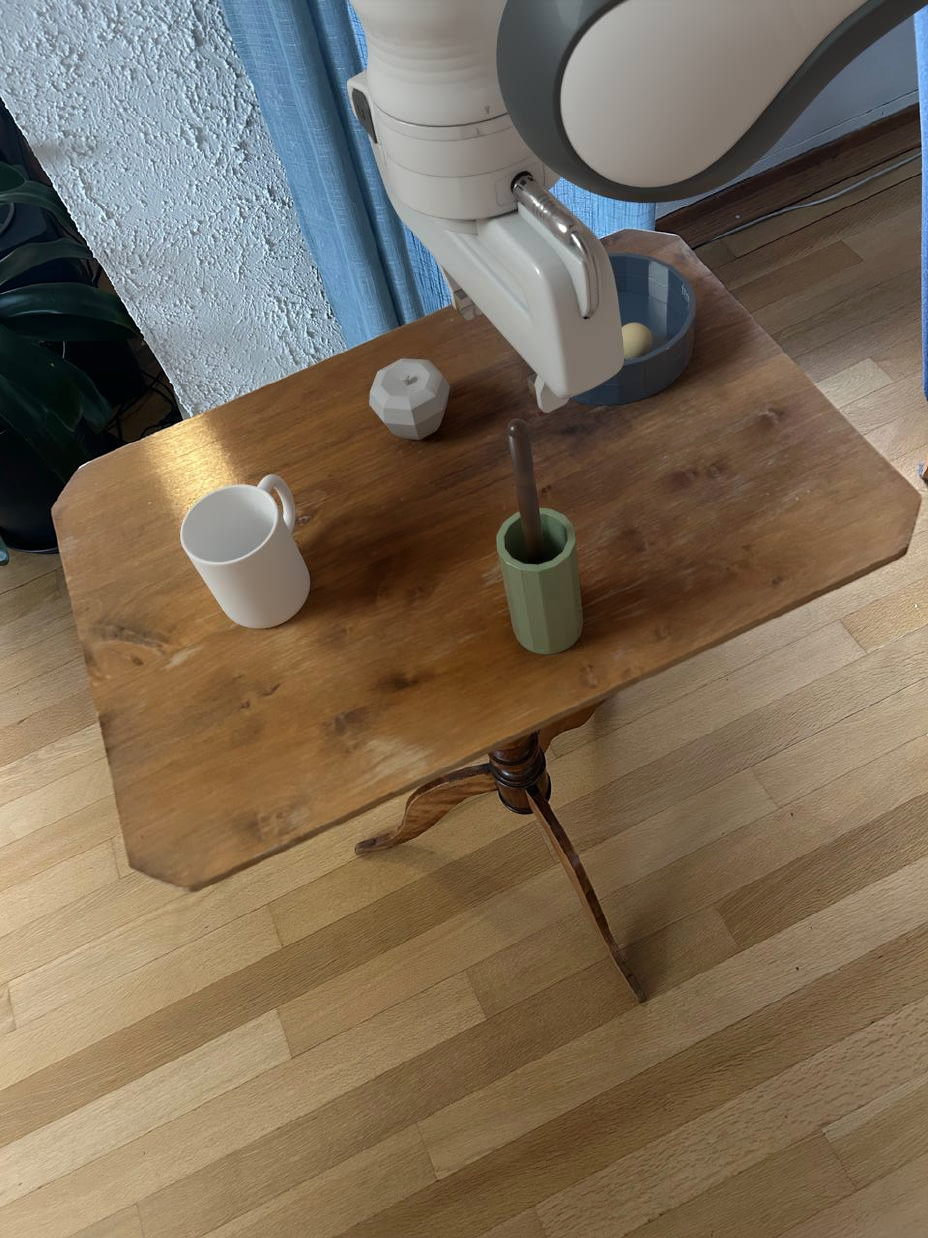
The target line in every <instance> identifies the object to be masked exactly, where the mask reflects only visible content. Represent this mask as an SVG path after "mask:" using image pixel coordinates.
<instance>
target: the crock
mask: <svg viewBox="0 0 928 1238" xmlns="http://www.w3.org/2000/svg"><path fill="white" fill-rule="evenodd" d="M539 510H540V518H541V525H542V533H543V540H544V547H545V555H546V562H545V563H542V564H539V565H535V564H528V560H527V554H526V548H525V542H524V535H523V529H522V523H521V517H520V511H517V512H515V513H514V514H512V515H511V516H510V517H508V518H507V519H506V520H505V521H503V523H502V524H501V526H500V528H499V529H498V532H497V534H496V537H495V538H496V539H495V540H496V551H497V557H498V561H499V566H500V570H501V571H500V572H501V576H502V581H503V586H504V591H505V597H506V600H507V601H506V602H507V606H508V610H509V616H510V622H511V626H512V631H513V633H514V636H515V638H516V640H517V641H518V643H519V644H520V645H521V646H522V647H523V648H525V649H526V650H528V651H529V652H532V653H535V654H537V655H538V654H539V655H555V654H559V653H562V652H564V651H567V650H568V649H570V648H571V647H572V646H573V645H574V644H576V642H577V641H578V640H579V639H580V636H581V634H582V633H583V628H584V615H583V605H582V604H583V603H582V597H581V596H582V594H581V592H582V591H581V583H580V581H581V580H580V571H579V561H578V549H577V539H576V529H575V526H574V525H573V523H572V522H571V521H570V520H569V518H568V517H567V516H566V515H565V514H563V513H561V512H559V511H557V510H555V509H552V508H549V507H539Z"/></svg>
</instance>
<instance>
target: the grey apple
mask: <svg viewBox="0 0 928 1238" xmlns="http://www.w3.org/2000/svg"><path fill="white" fill-rule="evenodd" d="M450 389H451V385H450V384H449V382H448V381H447V379H446V378H445V376H444V375H443V373H442V372H440V370H439V368H437V367H436V366H435V365H434V364H433V363H432V362H431V361H430V360H429V359H423V358H421V359H420V358H419V359H418V358H405V357H403V358H400V359H398V360H396V361H395V362H392V363H391V364H389V365H386V366H384V367H383V368H381V369H378V370H377V372H376V374H375V378H374V379H373V383H372V385H371V388H370V391H369V401H368V403H369V404H368V405H369V407H370V408H371V409H372V410H373V411H374V412H375V414H376V415H377V416H378V417H379V418H380V420H381V421H382V422H383V424H384V425H385V426H386V427H387V429H388V430H389V431H390V433H391V434H392V435H393V436H394V437H395V436H396V437H397V438H399V439H402V440H412V441H413V440H414V441H421V440H423V439H425V438H427V437H428V436H430V435H431V434H433V433H435V432H437V431H438V429H439V428H440V426H441V424H442V421H443V418H444V415H445V412H446V408H447V406H448V401H449V395H450Z"/></svg>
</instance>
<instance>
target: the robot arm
mask: <svg viewBox="0 0 928 1238" xmlns="http://www.w3.org/2000/svg"><path fill="white" fill-rule="evenodd" d="M348 1H349V4H350V5H351V7H352V9H353V10H354V12H355V14H356V16H357V18H358V20H359V21H360V24H361V27H362V30H363V32H364V37H365V40H366V50H367V63H366V69H365V70H363V71H361V72H359V73H358V74H356V75H354V76H352V77H350V78H348V79H347V81H346V89H347V94H348V98H349V103H350V105H351V110H352V112H353V115H354V117H355V118H356V119H357V121H358V122H359V124H360V125H361V126H362V128H363V129H364V130H365V131H366V133H367V136H368V140H369V143H370V146H371V149H372V152H373V155H374V159H375V162H376V165H377V168H378V171H379V174H380V177H381V179H382V183H383V186H384V189H385V192H386V194H387V197H388V199H389V201H390V204H391V205H392V207H393V209H394V211H395V212H396V214H397V216H398V217H399V220H401V222H402V223H403V224H405V226H406V227H407V228H408V229H409V231H410V232H411V233H412V234H413V235H414V236H415V237H416V238H417V240H418V241H419V242H420V243H421V244H422V245H423V247H425V249H426V250H427V251H428V252H429V253H430V254H431V255H432V257H433V258H434V260H435V262H436V264H437V266H438V269H439V271H440V273H441V275H442V277H443V279H444V282H445V284H446V286H447V287H448V290H449V295H450V300H451V305H452V307H453V309H454V310H455V311H456V312H457V313H458V314H459V315H460V316H461V317H462V319H463V320H465V321H467V322H470V321H473V320H474V319H475V318H476V317H480V316H482V315H484V316H485V317H486V318H487V319H488V320H489V321H490V323H491V324H492V325H493V326H494V327H495V328H496V330H497V331H498V332H499V333H500V334H501V335H502V336H503V337H504V339H505V340H506V341H507V342H508V343H509V344H510V345H511V347H513V349H514V350H515V351H516V352H517V353H518V354H519V355H520V356H521V358H522V359H523V360H524V361H525V362H526V364H527V365H529V367H530V368H531V369H532V370H533V371H534V373H533V374H531V375H529V376H528V377H526V380H527V386H528V389H529V392H528V393H529V397H530V398H531V399H532V400H533V401H534V403H535V404H536V405H537V406H538V408H539V409H540V410H541V412H543V413H544V414H548V413H551V412H553V411H555V410H558V409H559V408H560V407H563V406H565V405H566V404H567V403H569V400H570V399H569V398H571V397H574V396H576V395H579V394H581V393H584V392H586V391H588V390H590V389H592V388H594V387H596V386H598V385H600V384H602V383H603V382H605V381H607V380H608V379H610V378H611V377H613V376H614V375H615V374H617V373H618V372H619V371H620V369H621V368H622V366H623V363H624V347H623V336H622V327H621V318H620V310H619V303H618V296H617V289H616V284H615V278H614V274H613V270H612V266H611V263H610V260H609V257H608V255H607V253H608V252H607V251H606V248H605V247H604V244H603V243H602V242H601V240H600V239H599V237H598V236H597V235H596V233H594V231H593V230H592V229H591V228H590V227H589V226H587V225H586V223H584V222H583V221H582V220H581V219H580V218H579V217H578V216H577V215H575V213H574V212H572V211H571V210H570V209H569V207H567V206H566V205H565V204H564V203H563V202H562V201H560V200H559V198H557V197H556V196H555V195H554V194H553V193H552V192H551V191H550V190H551V189H552V188H553V187H554V186H555V185H557V183H558V182H559V181H560V180H561V178H562V179H564V180H566V181H567V182H569V183H571V184H572V185H574V186H576V187H578V188H580V189H582V190H584V191H586V192H588V193H591V194H594V195H596V196H600V197H603V198H606V199H611V200H614V201H619V202H624V203H631V204H632V203H634V204H661V203H670V202H671V203H672V202H677V201H682V200H687V199H690V198H694V197H697V196H701V195H703V194H707V193H709V192H711V191H714V190H716V189H718V188H720V187H722V186H724V185H726V184H728V183H730V182H731V181H733V180H734V179H736V178H739V176H740V175H742V174H744V173H745V172H746V171H748V170H749V169H750V168H751V167H753V166H754V165H755V164H756V163H757V162H758V161H760V160H761V159H762V158H763V157H764V156H765V155H766V154H768V152H769V151H770V150H771V149H772V148H773V147H774V146H775V145H776V144H777V143H778V142H779V141H780V140H781V139H782V137H783V136H784V135H785V134H786V133H787V132H788V130H790V128H791V127H792V126H793V125H794V124H795V123H796V121H797V120H798V119H799V118H800V116H801V115H802V114H803V113H804V112H805V111H806V110H807V108H808V107H810V105H811V104H812V102H813V101H815V100H816V98H817V97H818V96H819V95H820V93H821V92H823V90H824V89H825V88H827V86H828V85H829V84H830V83H831V82H832V81H833V80H834V79H835V78H836V77H837V76H839V74H840V73H841V72H842V71H843V70H844V69H845V68H846V67H847V66H848V65H850V64H851V63H852V62H854V60H855V59H856V58H858V57H859V56H860V55H861V54H863V52H865V51H866V50H867V49H869V48H870V47H871V46H873V45H874V44H875V43H876V42H878V41H879V40H880V39H881V38H883V37H884V36H886V35H887V34H888V33H889V32H891V31H892V30H894V29H895V28H896V27H899V25H901V24H902V23H904V22H905V21H906V20H908V19H909V18H911V17H912V16H913V15H915V14H917V13H918V12H919V11H921V10H923V9H924V8H925V7H926V6H928V0H348ZM535 372H536V373H535Z"/></svg>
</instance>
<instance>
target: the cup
mask: <svg viewBox="0 0 928 1238" xmlns="http://www.w3.org/2000/svg"><path fill="white" fill-rule="evenodd" d="M273 490H275V491H276V492H277V494H278V496H279V498H280V499H281V504H282V509H283V513H282V512H281V510H280V508H279V506H278V504H277V502H276V500H275V499H274V497H273V496H272V495H271V493H272V491H273ZM294 499H295V498H294V496H293V493H292V490H291V489H290V488H289V485H288V484H287V482H285V480H284V479H283V478H282V477H281V476H279V475H277V474H274V473H271V474H268V475H267V474H266V476H264V477H263V478H262V479H260V482H259V483H258V484H257V486H255V485H250V484H240V483H239V484H231V485H226V486H223V487H219V488H216V489H214V490H213V491H210V492H209V493H206V494H205V495H204V496H201V498H200V499H198V500H197V501H196V502H195V503H194V504H193V505H192V506H191V507H190V508H189V509H188V511H187V513H186V514H185V516H184V518H183V520H182V523H181V526H180V530H179V531H180V533H179V538H180V543H181V546H182V548H183V550H184V552H185V553H186V555H187V556H188V558H189V559H190V561H191V562H192V564H193V566H194V567H195V569H196V570H197V572H198V573H199V575H200V576H201V578H202V579H203V581H204V583H205V584H206V586H207V587H208V589H209V590H210V592H211V594H212V595H213V597H214V598H215V600H216V602H217V603H218V605H219V606H220V608H221V609H222V610H223V612H224V613H225V615H226V616H227V617H228V618H229V619H230V620H231V621H232V622H234V623H235V624H237V625H240V626H242V627H244V628H249V629H254V630H255V629H256V630H257V629H258V630H260V629H268V628H269V629H270V628H273V627H277V626H279V625H281V624H284V623H285V622H287V621H288V620H290V619H292V618H293V617H294V616H295V615H297V613H298V612H299V611H300V610H301V609H302V607H303V606H304V604H305V602H306V601H307V599H308V597H309V594H310V593H309V592H310V588H311V578H310V577H311V576H310V573H309V570H308V567H307V564H306V562H305V560H304V558H303V556H302V554H301V552H300V550H299V547H298V546H297V543H296V542H295V539H294V537H293V531H294V529H295V524H296V518H297V512H296V503H295V500H294Z"/></svg>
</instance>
